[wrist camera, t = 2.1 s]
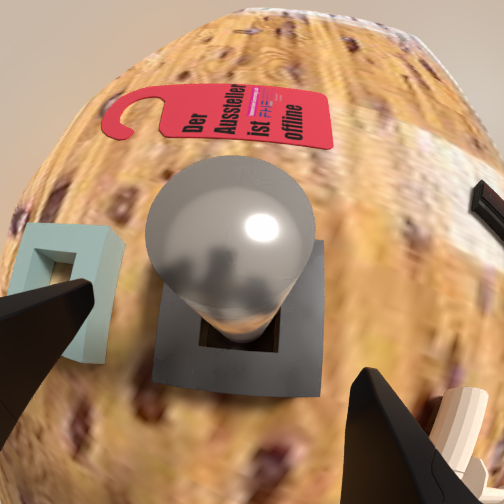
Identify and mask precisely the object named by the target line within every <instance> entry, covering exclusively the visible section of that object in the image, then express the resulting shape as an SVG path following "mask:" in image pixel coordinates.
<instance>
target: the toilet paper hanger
mask: <svg viewBox="0 0 504 504" xmlns="http://www.w3.org/2000/svg"><path fill="white" fill-rule="evenodd" d="M488 397H489V395H488V393H487V392H486V391H484V390H482V389H479V388H475V387H457V388H452V389H449V390H447V391H446V392H445V393H444V395H443V398H442V402H441V405H440V408H439V411H438V414H437V417H436V420H435V422H434V425H433V428H432V430H431V433H430V436H429V439H430V440H431V441H432V443H433V444H434V445H435V449H438V451H439V452H440V454H441V455H442V456H443V458H444V459H445V460H446V462H447V463H448V464H449V466H450V467H451V468H452V470H453V471H454V472H455V473H456V474H457V476H458V477H459V478H460V479H461V480H462V481H463V483H464V484H465V485H466V486H467V487H468V488H469V490H470V491H471V492H472V493H473V494H474V495H475V496H476V498H477V499H478V500H479V501H481V502H482V503H484V504H504V485H503V486H500V487H498V488H497V489H496V488H488V487H486V485H487V480H488V472H487V469H486V467H485V465H484V463H483V461H482V460H481V459H479V458H476V457H472V456H471V455H472V452H473V449H474V446H475V444H476V441H477V438H478V434H479V431H480V428H481V424H482V421H483V417H484V413H485V410H486V405H487V401H488Z"/></svg>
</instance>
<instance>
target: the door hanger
mask: <svg viewBox="0 0 504 504" xmlns="http://www.w3.org/2000/svg"><path fill="white" fill-rule="evenodd" d="M152 97H157V98H161V99H163V100H164V101H165V105H164V109H163V113H162V118H161V122H160V128H159V130H160V132H161V133H162V134H163V135H164V136H165V137H170V138H217V139H236V140H251V141H262V142H273V143H282V144H290V145H298V146H306V147H313V148H319V149H326V150H328V149H331V148H333V137H332V128H331V120H330V113H329V106H328V99H327V97H326V96H325V95H323V94H321V93H317V92H311V91H305V90H298V89H290V88H282V87H272V86H260V85H245V84H179V85H164V86H152V87H146V88H142V89H139V90H136V91H133V92H131V93H129V94H127V95H124V96H122V97H121V98H120V99H118V100H117V101H116V102H115V103H114V104H113V105H112V106H111V107H110V108H109V109H108V111H107V112H106V113H105V116H104V118H103V120H102V130H103V132H104V133H105V134H106V135H107V136H109V137H111V138H114V139H117V140H126V139H128V138H129V137H130V136H132V135H133V134H134V131H133V130H132V129H131V128H128V127H126V126H124V125H122V124H121V123H120V116H121V115H122V113H123V111H124V110H125V108H127V107H128V106H129V105H131V104H132V103H134V102H136V101H138V100H141V99H145V98H152Z"/></svg>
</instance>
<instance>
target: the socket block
mask: <svg viewBox="0 0 504 504" xmlns="http://www.w3.org/2000/svg"><path fill="white" fill-rule="evenodd" d="M208 329H209V323H208V322H207V321H206V320H205V319H204V318H203V317H202V316H200V315H199V314H198V313H197V312H196V311H195V310H194V309H193V308H191V307H190V306H189V305H188V304H187V303H186V302H185V301H184V300H183V299H182V298H180V297H179V296H178V295H177V294H176V293H175V292H174V291H173V290H172V289H171V288H170V287H169V286H168V285H166V284H165V283H164V284H163V291H162V297H161V303H160V310H159V317H158V325H157V333H156V341H155V350H154V359H153V370H152V382H155V383H160V384H166V385H171V386H177V387H182V388H189V389H195V390H202V391H210V392H218V393H227V394H238V395H251V396H268V397H320V390H321V376H322V359H323V337H324V240H315V241H314V246H313V250H312V252H311V255H310V258H309V260H308V262H307V264H306V266H305V267H304V269H303V271H302V272H301V274H300V276H299V277H298V279H297V281H296V282H295V284H294V285H293V287H292V289H291V290H290V292H289V293H288V295H287V297H286V298H285V300H284V301H283V303H282V305H281V306H280V308H279V309H278V311H277V312H276V316H275V333H274V348H273V353H271V352H255V351H242V350H231V349H221V348H211V347H207V338H208Z"/></svg>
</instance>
